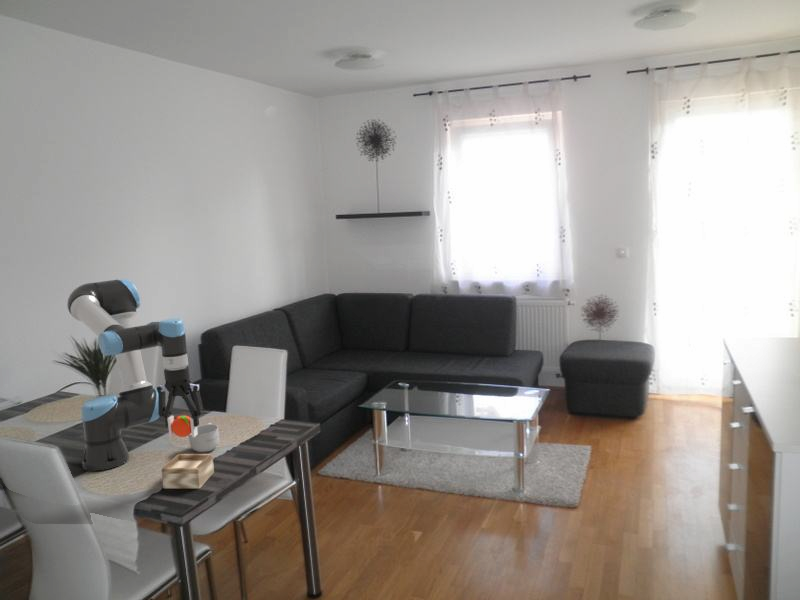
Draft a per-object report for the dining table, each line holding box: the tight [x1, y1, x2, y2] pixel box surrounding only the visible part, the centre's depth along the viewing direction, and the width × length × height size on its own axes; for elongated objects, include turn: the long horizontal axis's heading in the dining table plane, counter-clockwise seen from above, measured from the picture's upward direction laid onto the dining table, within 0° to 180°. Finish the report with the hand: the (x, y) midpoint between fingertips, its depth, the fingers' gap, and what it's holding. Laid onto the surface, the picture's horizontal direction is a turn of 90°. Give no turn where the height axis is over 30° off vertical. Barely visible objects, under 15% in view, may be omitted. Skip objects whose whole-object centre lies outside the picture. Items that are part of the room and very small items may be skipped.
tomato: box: [172, 414, 192, 438], centre depth 204 cm, size 8×7×7 cm
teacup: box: [188, 422, 220, 453], centre depth 233 cm, size 14×11×8 cm
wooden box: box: [161, 453, 215, 489], centre depth 206 cm, size 12×12×6 cm
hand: (183, 435), depth 204 cm, fingers closed on tomato, 7 cm apart
